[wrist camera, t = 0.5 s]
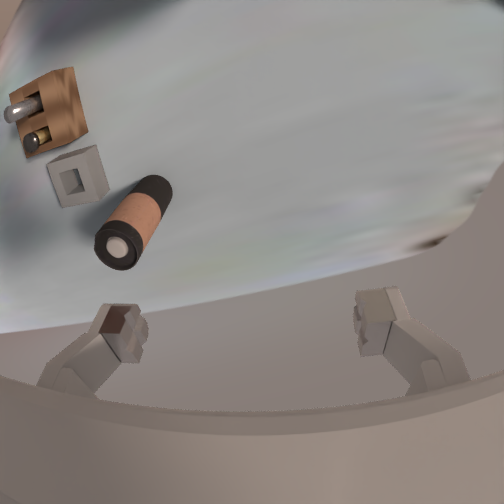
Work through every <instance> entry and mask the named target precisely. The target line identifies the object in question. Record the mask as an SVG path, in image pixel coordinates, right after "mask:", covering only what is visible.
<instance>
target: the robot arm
mask: <svg viewBox="0 0 504 504" xmlns="http://www.w3.org/2000/svg"><path fill="white" fill-rule="evenodd" d="M355 300H356V306H355V307H354V313H353V322H354V328H355V333H356V334H358V335H359V336H358V347H359V351H360V356H361V357H364V356H373V355H382V354H383V356H384V357H385V358H386V359H387V360H388V361H389V363H390V364H391V365H392V366H393V367H394V368H395V369H396V370H397V371H398V372H399V373H400V374H401V375H402V376H403V377H404V378H405V380H406V381H407V382H408V383H409V384H410V387H409V389H408V391H407V393H406V395H405V396H403V397H398V398H392V399H387V400H381V401H374V402H368V403H361V404H353V405H345V406H336V407H326V408H315V409H302V410H285V411H255V412H254V411H253V412H252V411H248V412H237V411H233V412H230V411H200V410H182V409H168V408H158V407H149V406H139V405H132V404H124V403H118V402H111V401H104V400H100V399H99V398H98V397H97V396H96V395H95V394H94V393H95V392H96V391H97V390H98V388H100V386H101V385H102V384H103V383H104V382H105V381H106V380H107V379H108V378H109V377H110V376H111V374H112V373H113V372H114V371H115V370H116V369H117V368H118V367H119V365H120V364H121V363H139V362H140V359H141V356H142V353H143V348H142V345H143V344H144V343H145V342H146V341H147V338H148V325H147V322H146V320H145V318H143V317H142V316H141V315H140V312H141V310H140V308H139V306H138V305H137V304H103V305H101V307H100V309H99V311H98V313H97V315H96V317H95V319H94V321H93V323H92V325H91V327H90V329H89V331H88V333H84V334H82V335H81V336H80V337H79V338H77V339H76V340H75V341H74V342H72V343H71V344H70V345H69V346H67V347H66V348H65V349H64V350H62V351H61V352H60V353H59V354H58V355H56V356H55V357H54V358H53V359H52V360H50V361H49V362H48V363H47V364H46V366H45V368H44V370H43V372H42V374H41V376H40V379H39V381H38V383H37V385H36V386H35V385H31V384H27V383H24V382H20V381H17V380H13V379H10V378H7V377H4V376H0V504H504V370H502V371H499V372H496V373H493V374H489V375H486V376H483V377H480V378H477V379H473V380H471V379H470V377H469V374H468V371H467V368H466V366H465V363H464V361H463V358H462V356H461V353H460V352H459V351H458V350H456V349H455V348H453V347H452V346H451V345H450V344H448V343H447V342H446V341H444V340H443V339H442V338H441V337H439V336H438V335H437V334H435V333H434V332H433V331H431V330H430V329H429V328H427V327H426V326H424V325H423V324H422V323H420V322H419V321H418V320H416V319H415V318H412V319H411V318H410V315H409V313H408V310H407V308H406V305H405V303H404V300H403V298H402V295H401V293H400V291H399V288H398V287H397V286H392V287H384V288H377V289H368V290H359V291H357V292H356V295H355Z"/></svg>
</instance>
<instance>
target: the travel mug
mask: <svg viewBox="0 0 504 504" xmlns="http://www.w3.org/2000/svg"><path fill="white" fill-rule="evenodd" d="M171 199H172V187H171V185H170V183H169V182H168V181H167V180H166V179H165V178H163V177H161V176H158V175H149V176H147V177H145V178H144V179H142V180H141V181H140V182H139V183H138V184H137V185H136V187H135V188H134V189H133V190H132V191H131V192H130V193H129V194H128V195H127V196H126V197H125V198H124V199H123V201H122V202H121V203H120V204H119V205H118V207H117V208H116V209H115V210H114V212H113V213H112V214H111V216H110V217H109V218H108V219H107V221H106V222H105V223H104V225H103V226H102V227H101V229H100V230H99V231H98V232H97V233H96V235H95V245H94V251H95V253H96V255H97V256H98V258H99V259H100V260H101V261H102V262H103V263H104V264H105V265H107V266H108V267H110V268H112V269H115V270H128V269H131V268H132V267H134V266H135V264H136V263H137V262H138V260H139V258H140V256H141V254H142V252H143V251H144V249H145V247H146V245H147V244H148V242H149V240H150V238H151V236H152V235H153V233H154V231H155V230H156V228H157V226H158V224H159V223H160V221H161V219H162V217H163V215H164V213H165V211H166V209H167V207H168V205H169V203H170V201H171Z"/></svg>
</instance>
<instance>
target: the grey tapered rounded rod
mask: <svg viewBox="0 0 504 504" xmlns="http://www.w3.org/2000/svg"><path fill="white" fill-rule="evenodd" d="M42 109H44V108H43V104H42V100H41V95H37V96H35V97H32V98H29V99H26V100H24V101H21V102H18V103H16V104H13V105H11V106H8V107H7V108H6V109H5V111H4V118H5V121H6V122H7V123H12V122H14V121H16V120H19V119H21V118H23V117H25V116H27V115H30V114H32V113H34V112H37V111H39V110H42Z"/></svg>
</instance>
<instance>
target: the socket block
mask: <svg viewBox="0 0 504 504" xmlns="http://www.w3.org/2000/svg"><path fill="white" fill-rule="evenodd" d="M37 95H41V100H42V104H43V108H44V109H42V110H39V111H37V112H34V113H32V114H30V115H27V116H25V117H23V118H21V119H19V120H16V125H17V128H18V132H19V135H20V139H21V142H22V145H23V138H24V136H25V135H26V134H28V133H30V132H34V133H37V132H39V131H40V130H42V129H44V128H46V127H49V130H50V134H51V137H52V138H50V139H49V140H47V141H45V142H43V143H42V144H40V145H39V148H38V149H37V150H36V151H34V152H32V153H29V152H27V151H26V150H25V149H24V152H25V155H26V158H29V157H31V156H34V155H36V154H39V153H42V152H45V151H47V150H50V149H53V148H56V147H59V146H62V145H65V144H68V143H70V142H72V141H73V140H75V139H77V138H79V137H80V136H82V135H84V134H85V133H87V132H88V129H87V125H86V121H85V117H84V113H83V109H82V105H81V101H80V97H79V92H78V88H77V83H76V78H75V74H74V69H73V67H68V68H64V69H59V70H54V71H51V72H49V73H47V74H45V75H43V76H41V77H39V78H37V79H35V80H33V81H32V82H30V83H28V84H26V85H24V86H22V87H21V88H19V89H17V90H16V91H14V92H12V93H10V94H9V96H10V101H11V105H13V104H16V103H18V102H21V101H24V100H26V99H29V98H32V97H35V96H37ZM23 148H24V147H23Z"/></svg>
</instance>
